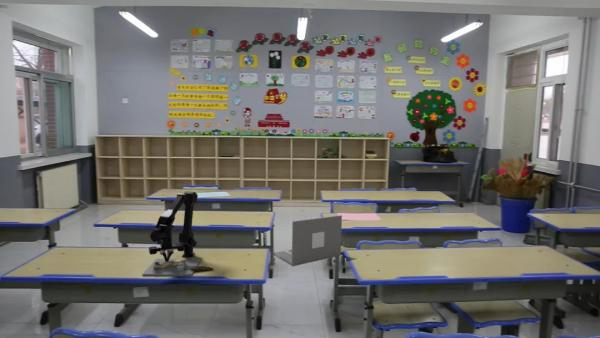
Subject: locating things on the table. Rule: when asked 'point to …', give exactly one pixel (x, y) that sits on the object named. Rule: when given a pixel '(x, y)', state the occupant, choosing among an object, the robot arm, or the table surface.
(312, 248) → the laptop
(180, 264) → the keeper
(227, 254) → the table surface
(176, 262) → the link
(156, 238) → the robot arm
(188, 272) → the pivot board
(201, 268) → the stone
